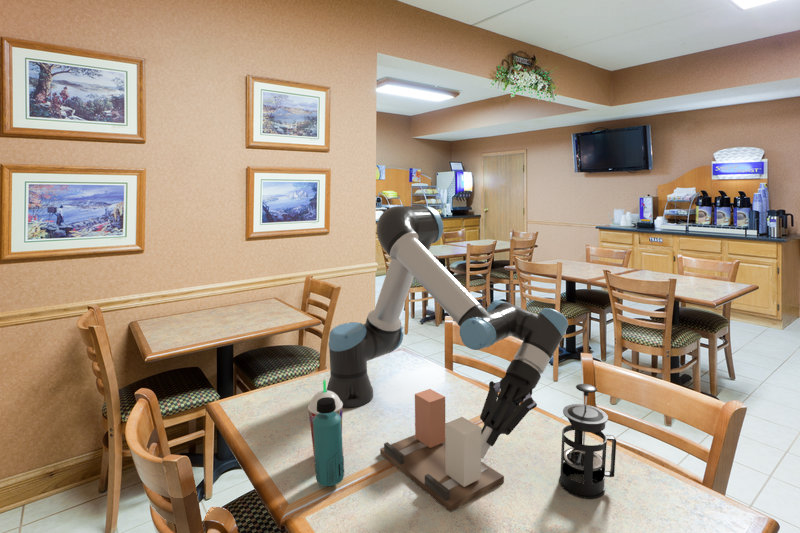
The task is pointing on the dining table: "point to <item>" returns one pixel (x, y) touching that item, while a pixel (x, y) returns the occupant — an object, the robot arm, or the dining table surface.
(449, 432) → the key
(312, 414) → the smoothie
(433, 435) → the key
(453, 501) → the board
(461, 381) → the dining table surface
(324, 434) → the beverage bottle
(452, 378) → the dining table surface
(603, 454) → the french press
